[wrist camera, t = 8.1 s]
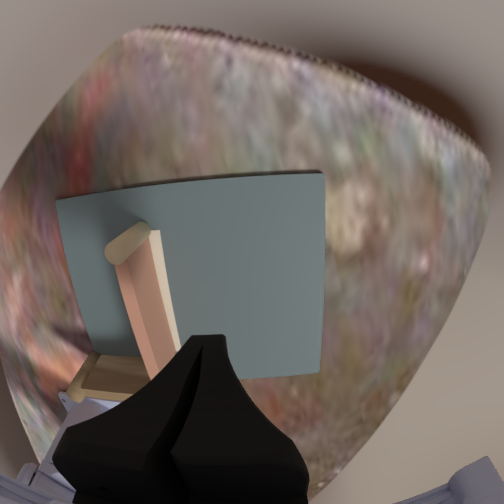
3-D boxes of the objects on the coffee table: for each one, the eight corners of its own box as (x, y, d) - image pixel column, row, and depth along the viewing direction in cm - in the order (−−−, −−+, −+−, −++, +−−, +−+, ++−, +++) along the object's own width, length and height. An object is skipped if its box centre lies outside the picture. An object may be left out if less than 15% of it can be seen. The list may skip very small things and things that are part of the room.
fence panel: (178, 350, 21) (166, 391, 17) (163, 351, 21) (149, 391, 17) (148, 220, 18) (122, 240, 14) (131, 222, 18) (102, 243, 14)
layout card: (318, 369, 23) (319, 372, 22) (105, 373, 23) (104, 376, 22) (322, 172, 18) (324, 173, 18) (57, 199, 18) (54, 200, 18)
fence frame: (187, 369, 22) (176, 416, 17) (93, 365, 22) (69, 404, 17) (183, 353, 22) (171, 400, 17) (87, 349, 22) (61, 389, 17)
